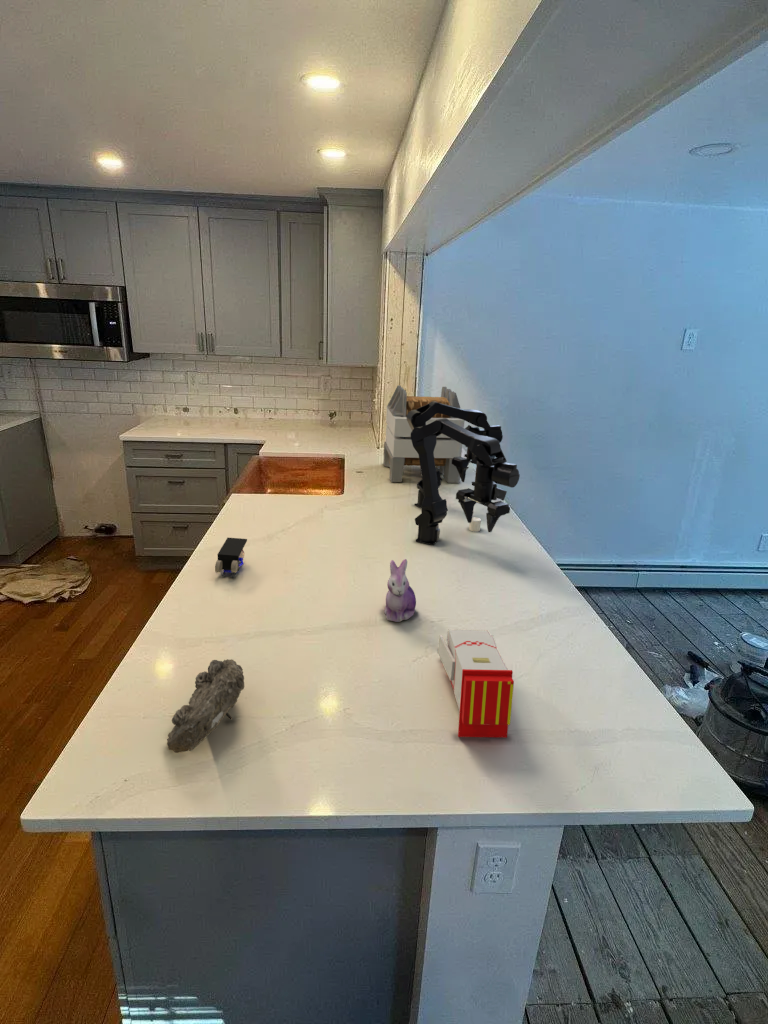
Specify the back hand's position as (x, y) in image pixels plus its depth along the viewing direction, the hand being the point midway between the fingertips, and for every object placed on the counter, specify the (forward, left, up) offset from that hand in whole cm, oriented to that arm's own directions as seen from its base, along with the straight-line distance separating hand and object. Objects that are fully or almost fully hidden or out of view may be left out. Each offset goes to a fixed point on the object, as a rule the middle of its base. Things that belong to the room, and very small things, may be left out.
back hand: (471, 480), depth 230 cm
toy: (+90, -83, -10) cm, 124 cm away
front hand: (+42, -35, +1) cm, 55 cm away
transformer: (-46, +11, -10) cm, 49 cm away
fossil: (+70, -131, -10) cm, 149 cm away
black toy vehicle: (+11, -105, -10) cm, 106 cm away
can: (+22, -18, -10) cm, 30 cm away
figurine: (+57, -77, -10) cm, 97 cm away
